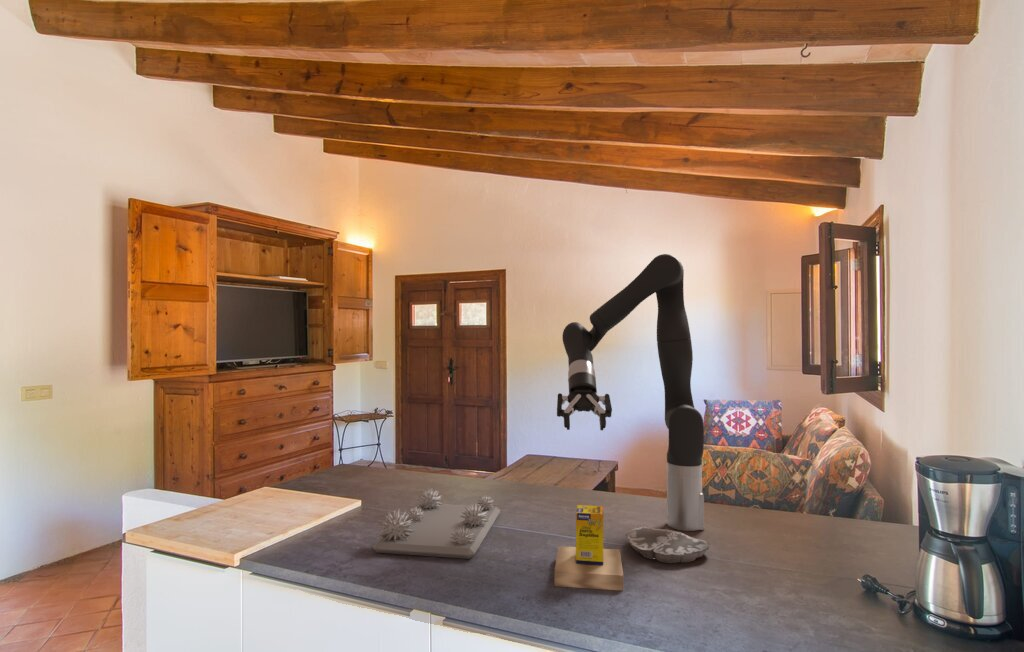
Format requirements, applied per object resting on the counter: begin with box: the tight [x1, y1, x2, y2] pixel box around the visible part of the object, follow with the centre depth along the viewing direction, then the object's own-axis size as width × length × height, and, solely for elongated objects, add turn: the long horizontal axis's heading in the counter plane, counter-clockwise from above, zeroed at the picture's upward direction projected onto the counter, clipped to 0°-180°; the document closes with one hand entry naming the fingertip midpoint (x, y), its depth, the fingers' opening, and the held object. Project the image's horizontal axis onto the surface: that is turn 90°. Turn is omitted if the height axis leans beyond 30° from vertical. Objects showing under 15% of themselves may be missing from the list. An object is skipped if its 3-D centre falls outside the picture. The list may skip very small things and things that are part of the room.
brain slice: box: [625, 526, 711, 564], centre depth 129 cm, size 20×17×3 cm
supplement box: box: [575, 504, 604, 565], centre depth 118 cm, size 6×6×11 cm
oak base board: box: [554, 545, 624, 592], centre depth 117 cm, size 14×14×3 cm
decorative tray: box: [371, 488, 502, 560], centre depth 143 cm, size 35×26×10 cm
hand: (585, 428), depth 137 cm, fingers open, 8 cm apart
